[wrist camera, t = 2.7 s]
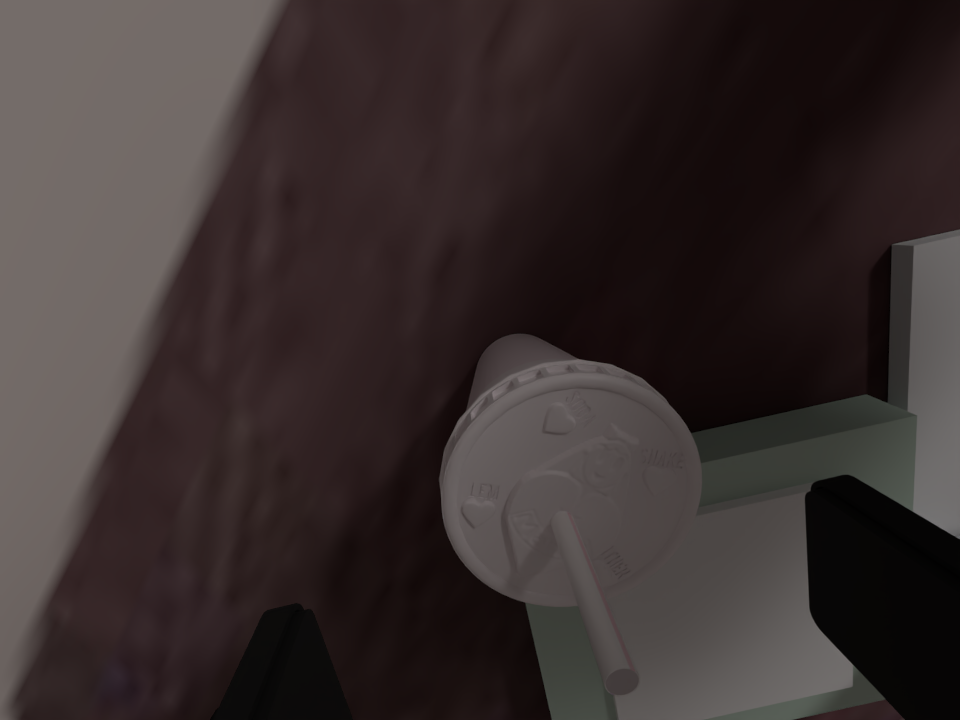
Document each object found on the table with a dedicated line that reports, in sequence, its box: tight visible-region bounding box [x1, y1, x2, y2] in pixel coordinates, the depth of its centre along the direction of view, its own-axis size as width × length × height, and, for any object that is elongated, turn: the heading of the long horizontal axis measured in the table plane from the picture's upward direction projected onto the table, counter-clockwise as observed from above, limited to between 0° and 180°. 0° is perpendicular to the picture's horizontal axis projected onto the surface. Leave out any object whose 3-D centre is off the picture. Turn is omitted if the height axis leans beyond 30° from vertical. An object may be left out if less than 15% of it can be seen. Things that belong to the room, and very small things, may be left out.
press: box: [525, 230, 960, 720], centre depth 22 cm, size 22×21×3 cm
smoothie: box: [439, 334, 702, 696], centre depth 14 cm, size 6×6×14 cm
